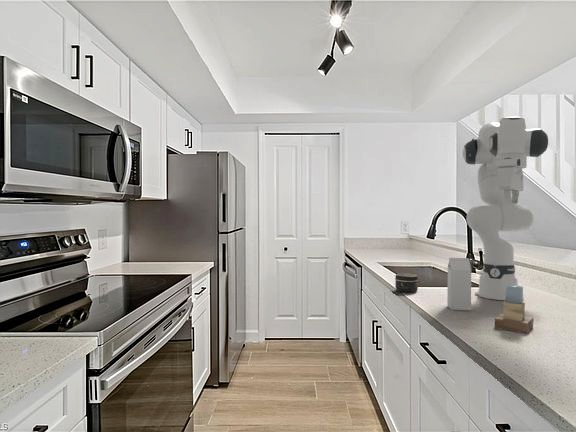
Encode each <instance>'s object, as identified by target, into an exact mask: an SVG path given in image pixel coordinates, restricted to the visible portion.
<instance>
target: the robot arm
mask: <svg viewBox="0 0 576 432" xmlns="http://www.w3.org/2000/svg"><path fill="white" fill-rule="evenodd" d="M548 146H549V136H548V134H547V133H546V132H545V131H544V130H543V129H541V128H540V127H539V128H538V127H537V128H530V129H529V128H528V129H527V124H526V120H525V118H524V117H523V116H508V117H506V116H505V117H502V118H501V119H499V122H495V121H493V122H488V123H485V124H484V125H482V127H481V128H480V129H479V131H478V138H475V139H474V137H473V138H472V139H471V140H470V141H468V142H467V143H465V144H464V146H463V149H462V157H463V160H464V162H465V163H466V164H467V165H473V166H474V165H480V166H479V167H478V170H477V184H478V190H479V195H480V199H481V201H482V202H483V203H484V204H486V205H479V206H474V207H471V208H470V209H469V210H468V211H467V214H466V218H465V219H466V224H467V225H468V227H469V228H470V229H471V230H472V231H474V232H475V233H476V234H477V235H478V236H479V238H480V240H481V242H482V244H483V245H482V246H483V254H484V262H483V265H482V269H483V270H482V272H483V273H482V274H481V275H480V276H479V281H478V291H475V292H474V295H476V296H479V297H481V298H485V299H489V300H497V301H505V297H506V285H518V286H519V281H518V278H517V276H516V274H515V273H516V268H515V264H514V258H515V257H514V247H513V244H512V243H510V242H509V241H507V240H505V239H502V238H501V237H500V236H499V232H500V233H501V232H509V233H510V232H515V233H516V232H522V231H527V230H529V229H530V228H531V227H532V225H533V223H534V214H533V213H532V211H531V209H530V208H528V207H526V206H525V205H523V204H521V203H519V196H520V192H523V191H524V172H523V169H527V166H528V165H527V162H528V160H527V159H528V157H529V158H530V157H532V158H540V157H541V155H543V154H544V153H545V152H546V151H547V149H548ZM523 301H525V300H524V294H523Z"/></svg>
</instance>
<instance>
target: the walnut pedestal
mask: <svg viewBox="0 0 576 432" xmlns="http://www.w3.org/2000/svg"><path fill="white" fill-rule="evenodd" d="M533 328H534V317H531V316H525V318H524V319H523V320H522V321H518V320H511V319H504V318H503V313H500V314H499V315H498V316H496V317H494V329H499V330H503V331H510V332H514V333H515V332H517V333H522V334H528V333H529V332H530V331H531V330H532V329H533Z"/></svg>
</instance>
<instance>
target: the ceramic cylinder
mask: <svg viewBox="0 0 576 432" xmlns="http://www.w3.org/2000/svg"><path fill="white" fill-rule="evenodd" d="M523 295H524V286H522V285H519V284H518V285H506V297H505V300H504V302H508V303H513V304H522V303H523V302H524V300H523Z"/></svg>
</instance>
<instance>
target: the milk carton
mask: <svg viewBox="0 0 576 432" xmlns="http://www.w3.org/2000/svg"><path fill="white" fill-rule="evenodd" d="M448 259H449V260H448V263H447V300H446V301H447V303H446V304H447V307H448V308H449V309H450V310H451V311H452V310H453V311H472V267H471V263H470V258H468V257H449V258H448Z"/></svg>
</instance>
